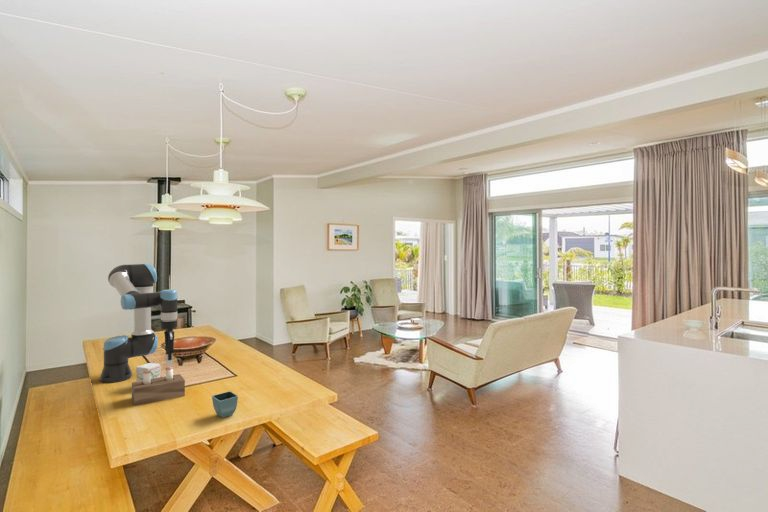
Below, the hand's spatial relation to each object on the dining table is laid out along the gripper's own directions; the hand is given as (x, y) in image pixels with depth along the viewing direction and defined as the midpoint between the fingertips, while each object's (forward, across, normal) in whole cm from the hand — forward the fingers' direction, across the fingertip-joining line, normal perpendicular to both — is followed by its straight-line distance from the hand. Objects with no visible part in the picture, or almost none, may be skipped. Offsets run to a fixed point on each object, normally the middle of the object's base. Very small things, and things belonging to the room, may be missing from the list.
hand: (169, 365), depth 209 cm
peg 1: (+9, 0, -10) cm, 14 cm away
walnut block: (+15, 0, -5) cm, 16 cm away
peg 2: (+9, 0, 0) cm, 9 cm away
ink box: (+15, -19, -7) cm, 25 cm away
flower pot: (+15, +41, +16) cm, 47 cm away
